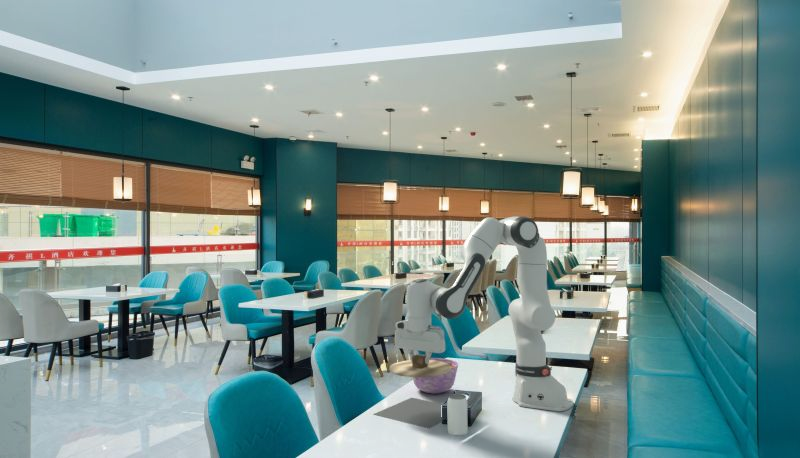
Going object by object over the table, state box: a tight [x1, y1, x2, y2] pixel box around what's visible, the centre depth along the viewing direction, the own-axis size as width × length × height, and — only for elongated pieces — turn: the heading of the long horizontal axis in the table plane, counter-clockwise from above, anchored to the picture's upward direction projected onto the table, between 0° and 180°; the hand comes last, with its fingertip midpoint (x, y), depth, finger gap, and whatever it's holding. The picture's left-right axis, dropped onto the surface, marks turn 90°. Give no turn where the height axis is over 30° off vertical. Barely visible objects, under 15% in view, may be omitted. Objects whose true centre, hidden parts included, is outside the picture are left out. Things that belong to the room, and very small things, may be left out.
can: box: [446, 393, 468, 436], centre depth 178 cm, size 6×6×12 cm
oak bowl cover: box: [389, 353, 451, 378], centre depth 197 cm, size 22×22×5 cm
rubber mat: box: [372, 397, 443, 429], centre depth 197 cm, size 24×24×1 cm
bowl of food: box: [411, 357, 459, 394], centre depth 223 cm, size 20×20×12 cm
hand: (420, 362), depth 197 cm, fingers closed on oak bowl cover, 4 cm apart
